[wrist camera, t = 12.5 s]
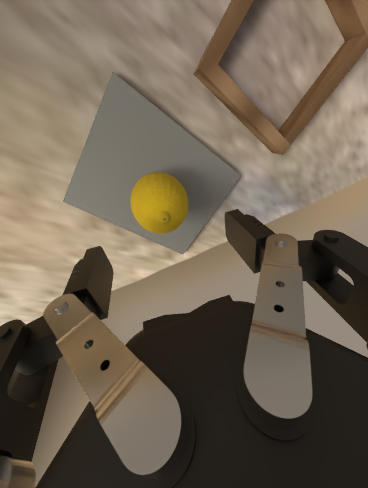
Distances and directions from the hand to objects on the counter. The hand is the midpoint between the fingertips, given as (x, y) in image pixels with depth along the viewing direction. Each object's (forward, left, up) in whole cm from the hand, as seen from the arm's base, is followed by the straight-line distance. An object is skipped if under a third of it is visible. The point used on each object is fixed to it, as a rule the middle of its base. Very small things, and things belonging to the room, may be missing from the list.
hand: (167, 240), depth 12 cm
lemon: (0, 0, -12) cm, 12 cm away
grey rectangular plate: (0, 0, -13) cm, 13 cm away
